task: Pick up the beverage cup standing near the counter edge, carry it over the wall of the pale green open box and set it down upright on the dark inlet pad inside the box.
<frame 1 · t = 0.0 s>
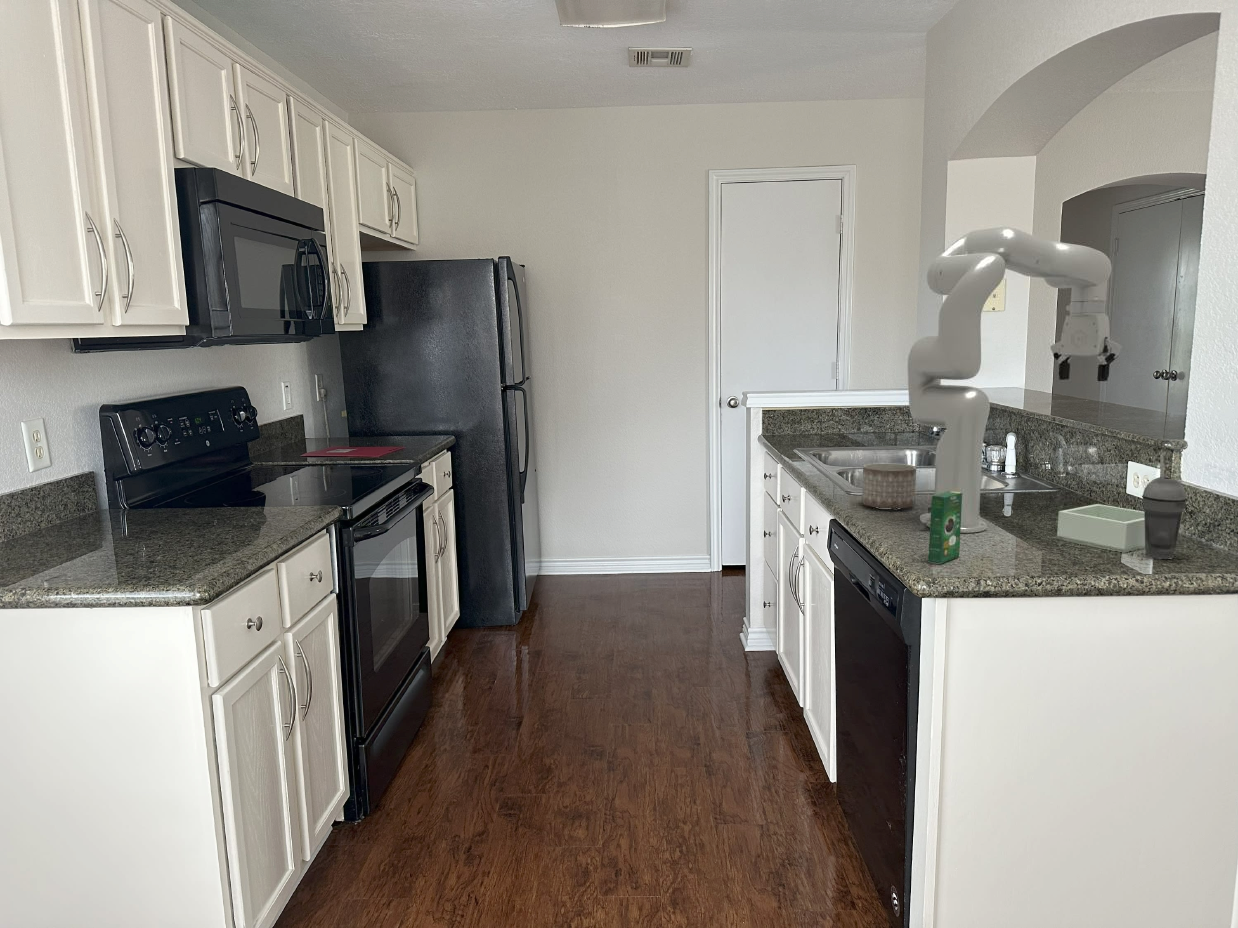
hand: (1082, 380, 210), 31 cm above the worktop, tool pointing down, fingers open, 9 cm apart
planter: (887, 508, 215), on the worktop
green upright box: (943, 560, 165), on the worktop
beverage cup: (1159, 557, 166), on the worktop
walled box: (1109, 541, 178), on the worktop
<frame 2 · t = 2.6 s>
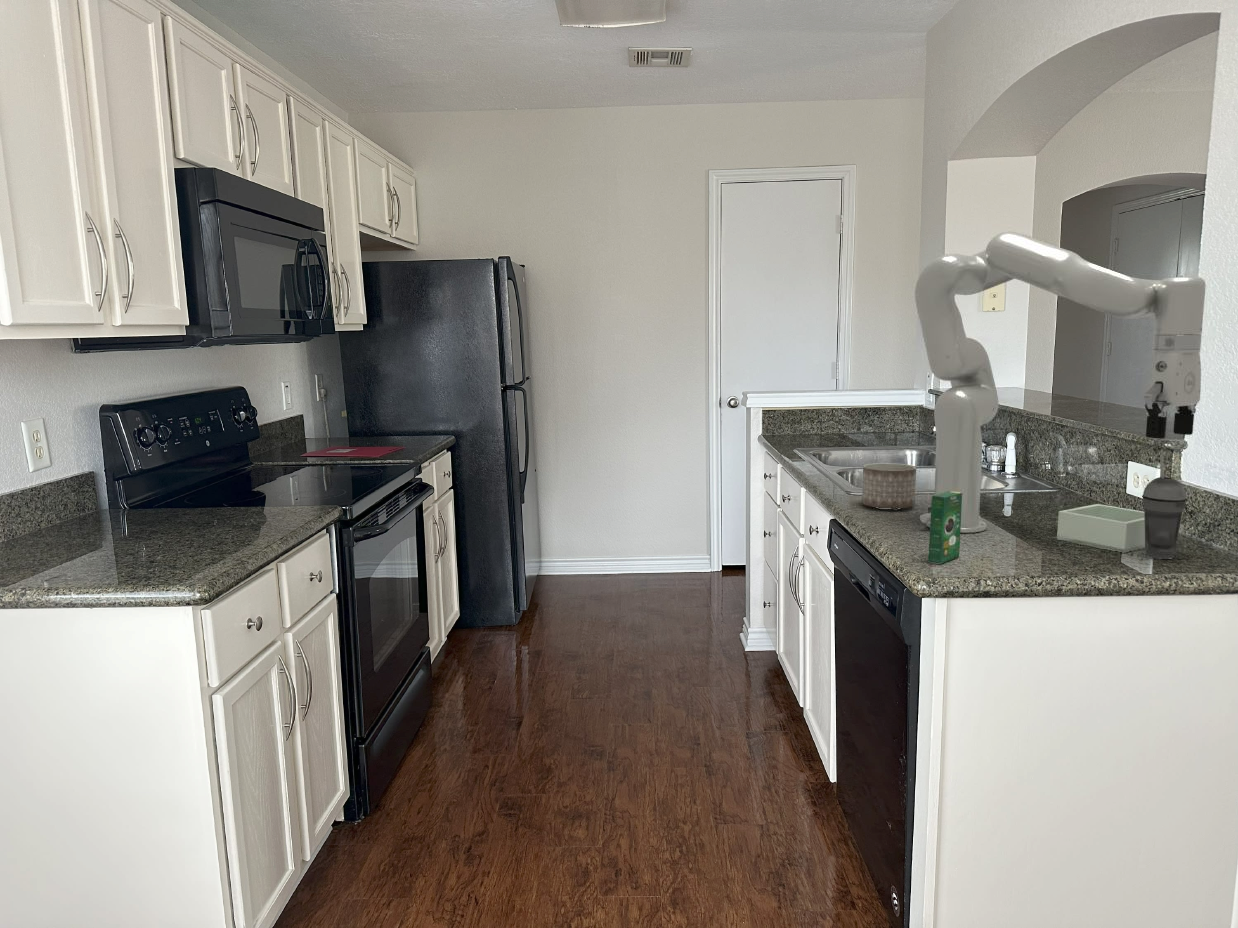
hand: (1169, 436, 162), 23 cm above the worktop, tool pointing down, fingers open, 9 cm apart
nothing on the worktop moved.
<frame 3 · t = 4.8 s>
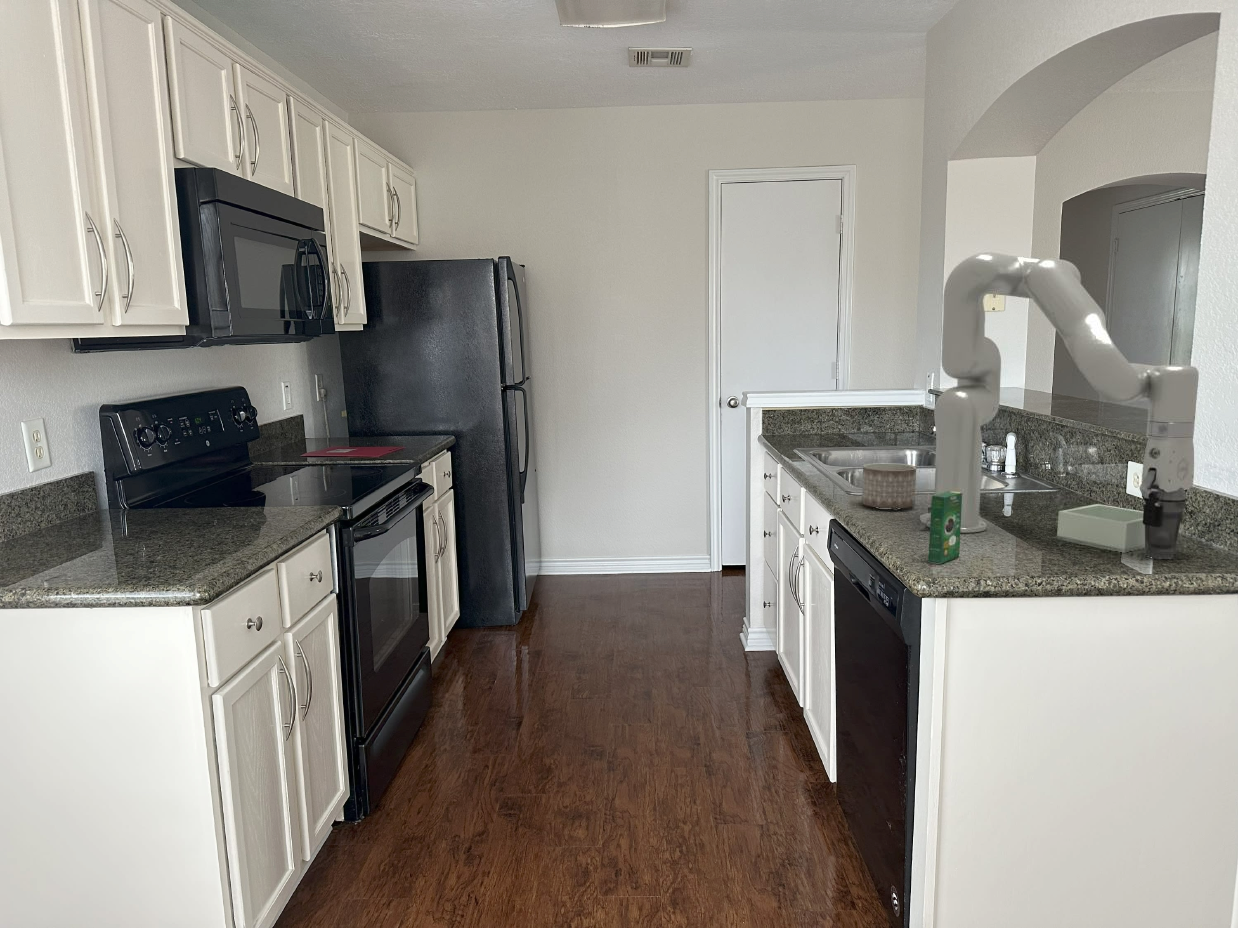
hand: (1162, 522, 165), 7 cm above the worktop, tool pointing down, fingers closed on beverage cup, 6 cm apart
beverage cup: (1159, 557, 166), on the worktop, touching gripper
everything else where it was.
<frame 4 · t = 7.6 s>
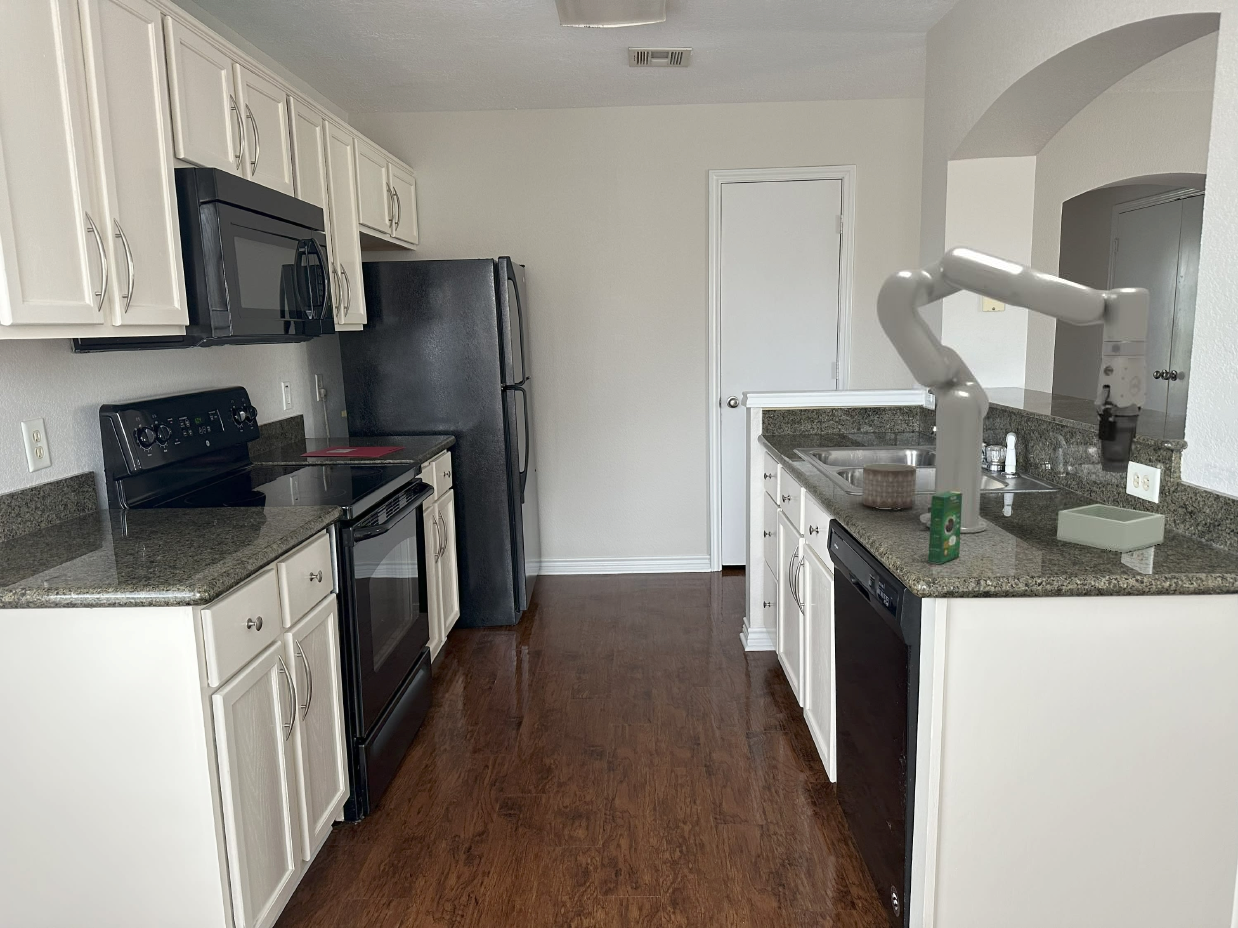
hand: (1116, 438, 175), 22 cm above the worktop, tool pointing down, fingers closed on beverage cup, 6 cm apart
beverage cup: (1114, 471, 176), point 15 cm above the worktop, touching gripper
everything else where it was.
when the fingers open (9 cm above the worktop, at t = 10.4 s): beverage cup stays where it is, resting on walled box.
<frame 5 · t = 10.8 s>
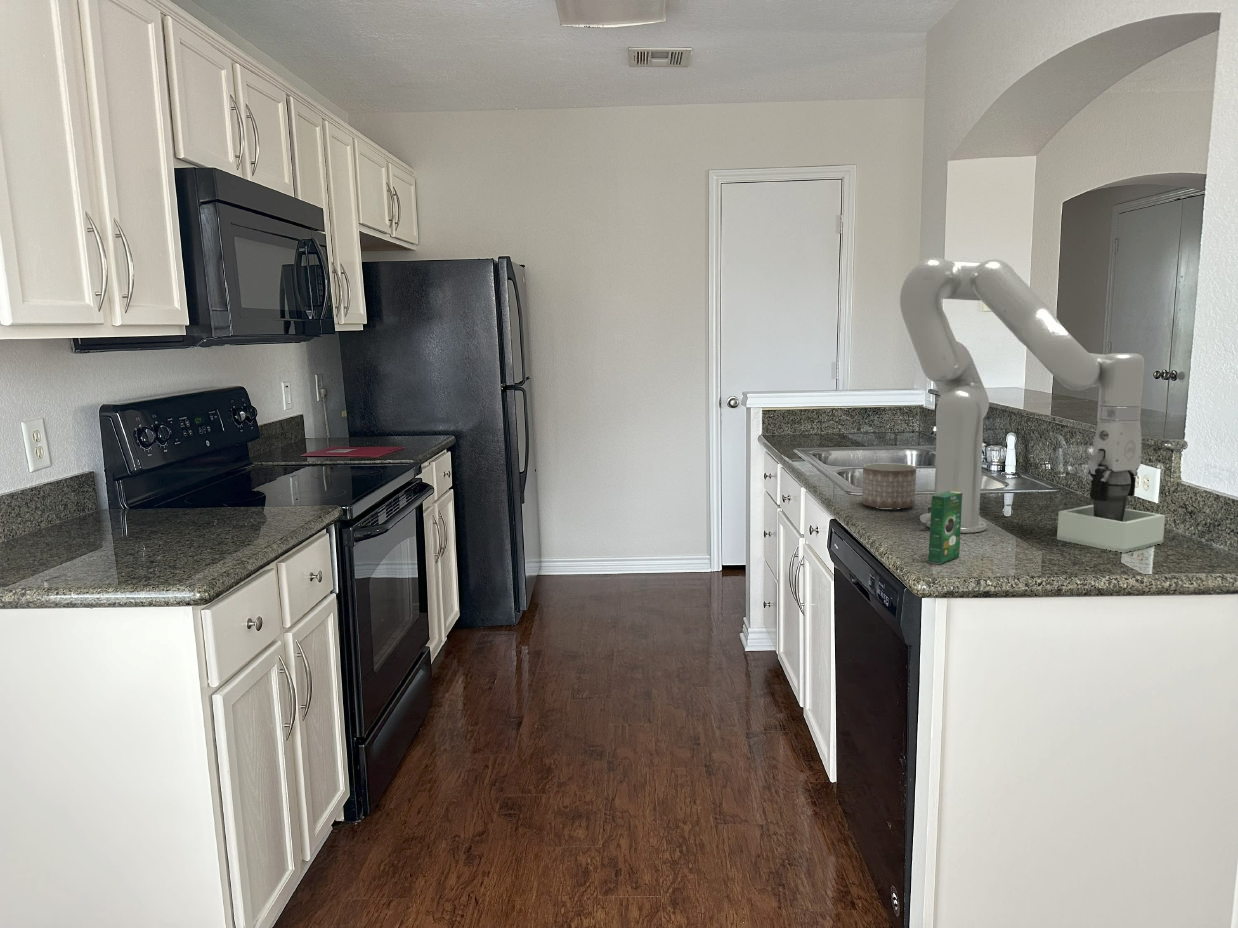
hand: (1112, 497, 176), 9 cm above the worktop, tool pointing down, fingers open, 9 cm apart
beverage cup: (1106, 538, 177), point 1 cm above the worktop, touching walled box
everything else where it was.
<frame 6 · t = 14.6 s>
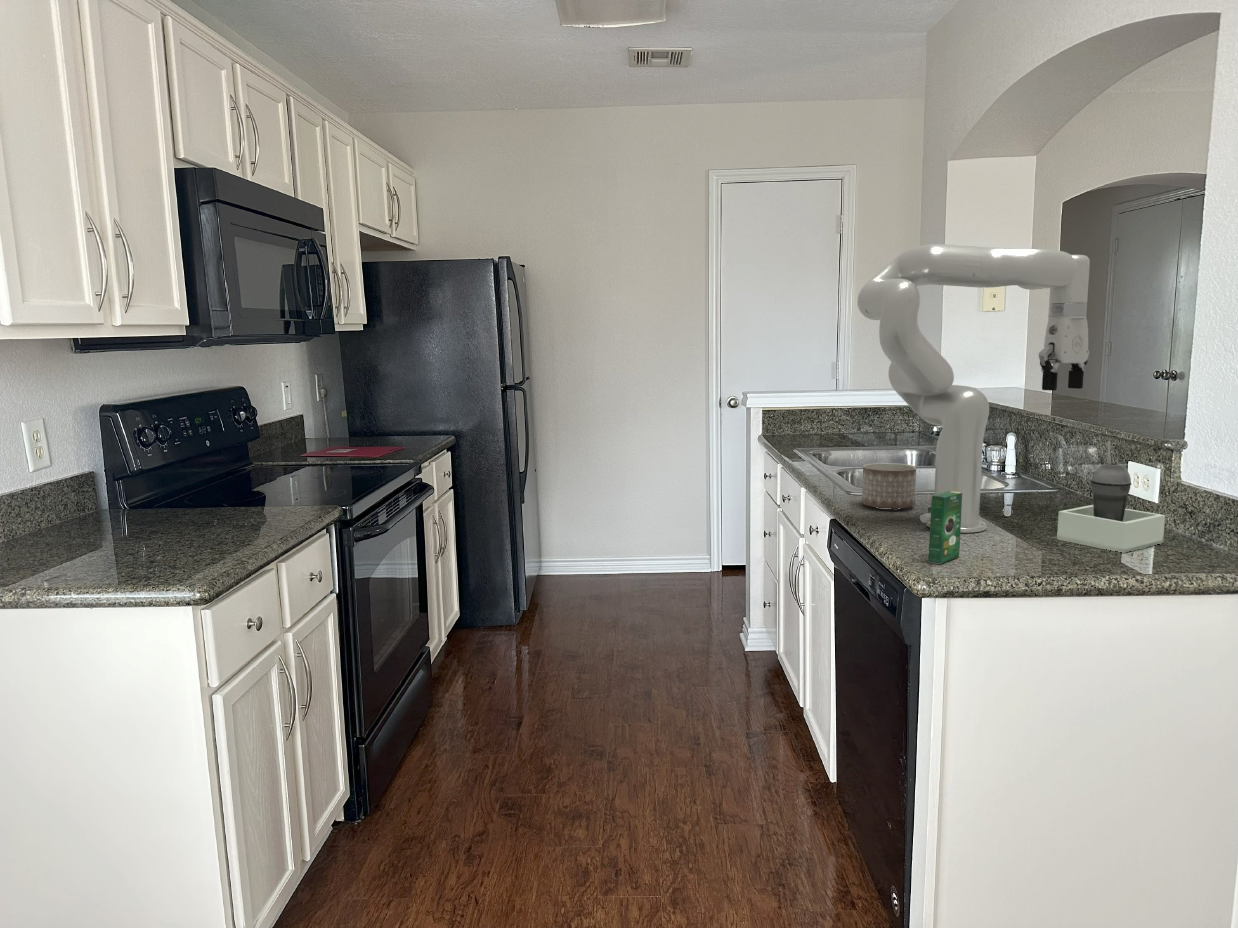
hand: (1062, 389, 193), 30 cm above the worktop, tool pointing down, fingers open, 9 cm apart
nothing on the worktop moved.
at the end: beverage cup inside the target area on the walled box (0.7 cm from its centre), point 0.7 cm above the walled box's base; beverage cup tilted 0°; the gripper is holding nothing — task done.
